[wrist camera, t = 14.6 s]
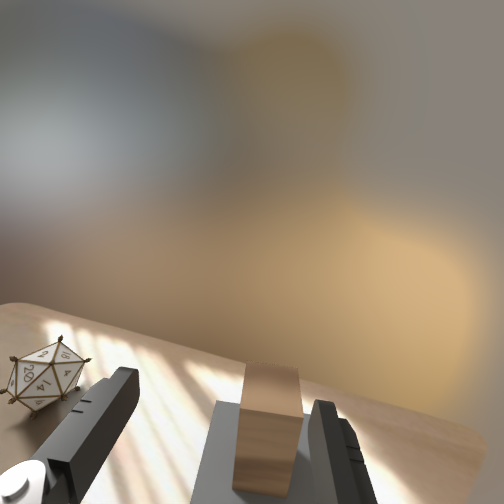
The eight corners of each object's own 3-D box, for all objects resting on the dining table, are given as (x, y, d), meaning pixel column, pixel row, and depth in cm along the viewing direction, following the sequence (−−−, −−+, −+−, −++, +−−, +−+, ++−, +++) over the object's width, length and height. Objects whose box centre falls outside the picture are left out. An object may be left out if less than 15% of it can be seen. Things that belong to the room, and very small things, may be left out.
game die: (70, 420, 33) (84, 401, 27) (-16, 429, 28) (-19, 408, 23) (87, 355, 39) (101, 328, 33) (18, 353, 34) (22, 322, 29)
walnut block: (286, 498, 23) (303, 417, 20) (231, 489, 24) (239, 408, 20) (283, 439, 28) (297, 367, 25) (239, 432, 29) (246, 360, 25)
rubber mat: (331, 570, 20) (333, 563, 20) (181, 542, 21) (181, 536, 20) (309, 419, 32) (310, 414, 32) (216, 405, 33) (216, 400, 33)
